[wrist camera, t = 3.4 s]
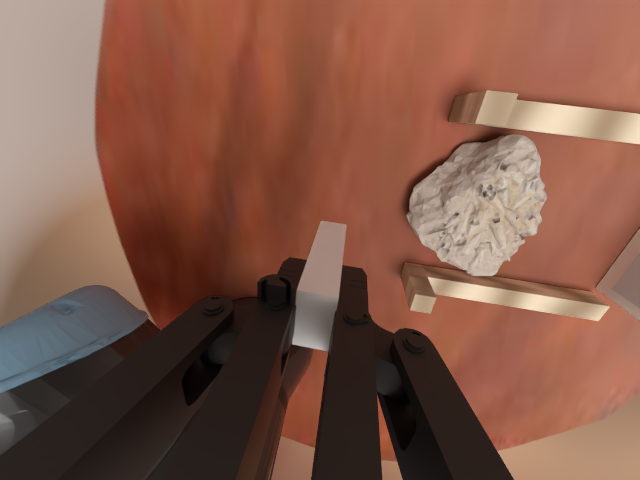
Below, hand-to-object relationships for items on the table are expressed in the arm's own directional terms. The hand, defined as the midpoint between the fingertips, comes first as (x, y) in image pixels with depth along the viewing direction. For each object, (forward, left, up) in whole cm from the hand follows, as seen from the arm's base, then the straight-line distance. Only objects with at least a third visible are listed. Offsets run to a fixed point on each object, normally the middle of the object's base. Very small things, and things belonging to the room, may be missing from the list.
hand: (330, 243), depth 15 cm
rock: (+12, 0, -14) cm, 18 cm away
